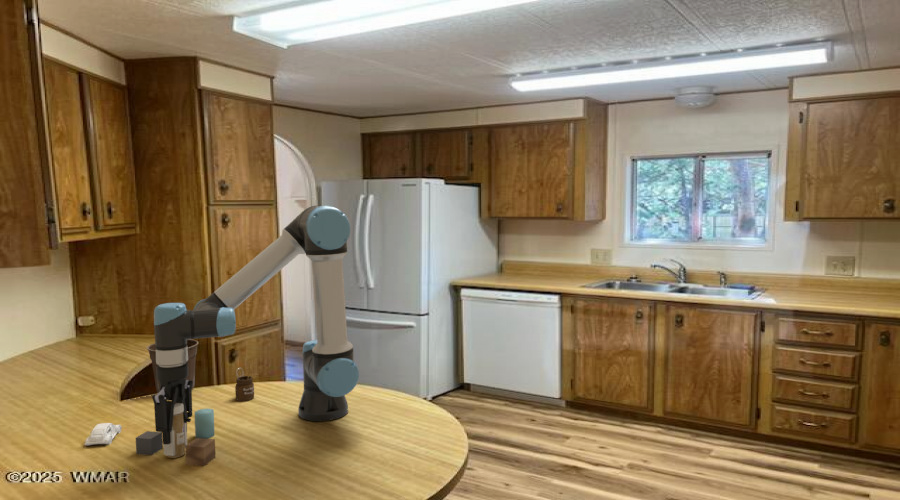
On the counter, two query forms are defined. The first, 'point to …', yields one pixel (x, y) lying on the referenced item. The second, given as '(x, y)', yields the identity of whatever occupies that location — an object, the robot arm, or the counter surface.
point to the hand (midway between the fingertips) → (175, 450)
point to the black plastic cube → (149, 443)
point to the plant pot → (191, 361)
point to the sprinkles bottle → (178, 430)
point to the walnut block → (200, 452)
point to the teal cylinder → (204, 423)
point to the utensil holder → (244, 386)
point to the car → (103, 434)
